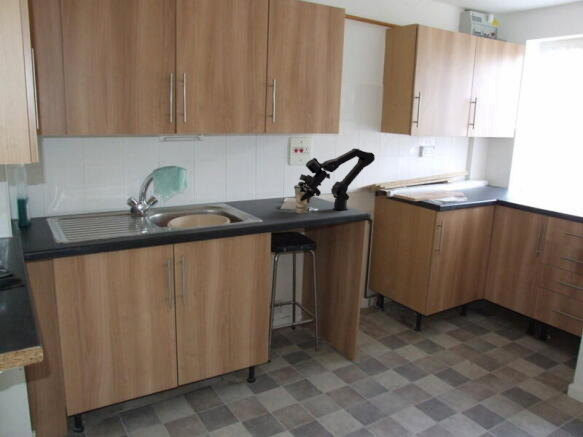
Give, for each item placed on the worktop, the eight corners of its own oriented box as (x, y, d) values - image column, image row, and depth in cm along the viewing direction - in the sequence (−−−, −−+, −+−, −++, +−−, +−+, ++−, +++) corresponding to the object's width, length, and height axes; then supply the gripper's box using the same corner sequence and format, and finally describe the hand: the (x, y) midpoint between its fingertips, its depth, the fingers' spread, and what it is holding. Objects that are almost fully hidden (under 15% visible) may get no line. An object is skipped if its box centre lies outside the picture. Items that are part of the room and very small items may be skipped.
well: (303, 205, 285) (303, 198, 284) (301, 209, 273) (301, 202, 272) (283, 205, 286) (283, 197, 285) (280, 209, 274) (280, 201, 273)
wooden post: (302, 211, 270) (303, 191, 267) (306, 212, 265) (307, 193, 263) (295, 211, 268) (295, 192, 265) (298, 213, 264) (299, 193, 261)
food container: (315, 201, 299) (316, 185, 297) (312, 203, 293) (312, 186, 291) (297, 199, 304) (297, 183, 302) (293, 201, 298) (293, 185, 296)
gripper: (301, 167, 271) (282, 187, 269) (316, 171, 255) (296, 192, 253) (313, 180, 276) (295, 200, 274) (328, 185, 259) (309, 206, 258)
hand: (298, 199), depth 264 cm, fingers closed on wooden post, 4 cm apart
